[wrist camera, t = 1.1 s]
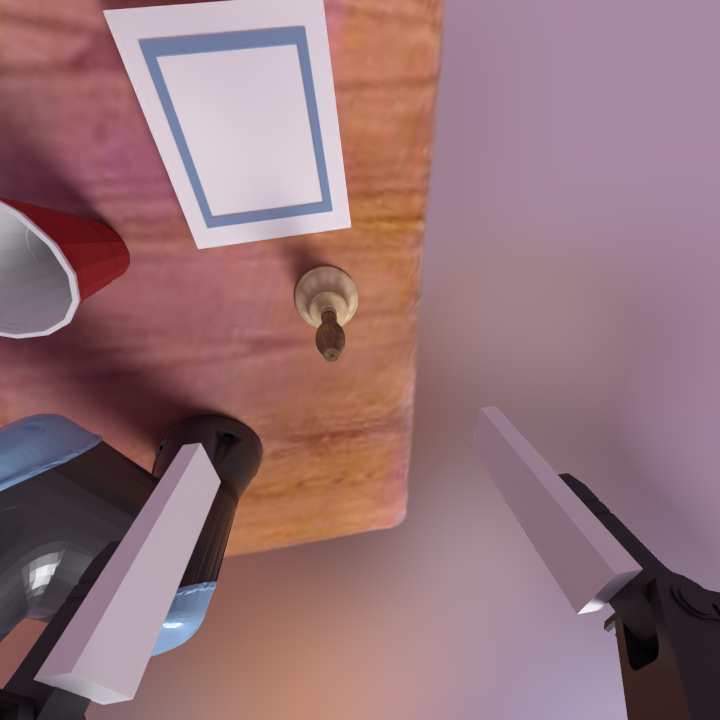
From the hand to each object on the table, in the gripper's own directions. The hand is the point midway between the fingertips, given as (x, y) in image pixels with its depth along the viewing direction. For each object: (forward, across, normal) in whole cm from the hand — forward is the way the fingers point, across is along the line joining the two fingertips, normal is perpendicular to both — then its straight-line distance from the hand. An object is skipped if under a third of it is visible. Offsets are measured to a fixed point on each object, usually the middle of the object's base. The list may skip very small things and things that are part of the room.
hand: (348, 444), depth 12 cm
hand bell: (+25, +1, 0) cm, 25 cm away
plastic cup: (+24, +24, -8) cm, 35 cm away
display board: (+25, +6, -16) cm, 30 cm away
